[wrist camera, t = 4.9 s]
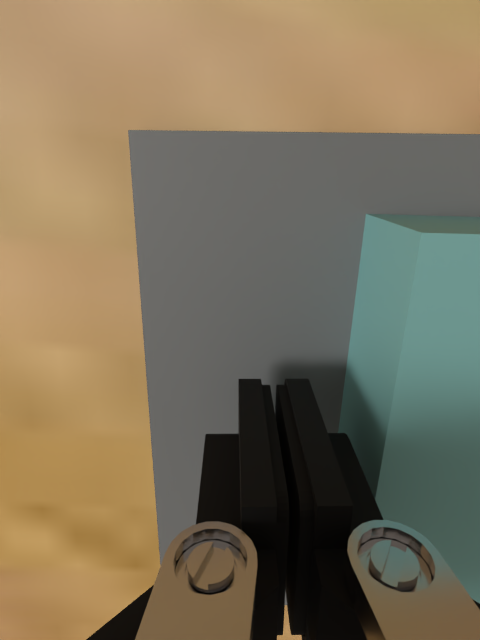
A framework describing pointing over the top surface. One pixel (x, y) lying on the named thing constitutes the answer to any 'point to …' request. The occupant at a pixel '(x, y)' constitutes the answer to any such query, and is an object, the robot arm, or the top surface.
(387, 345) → the t block
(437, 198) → the board
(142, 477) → the top surface
